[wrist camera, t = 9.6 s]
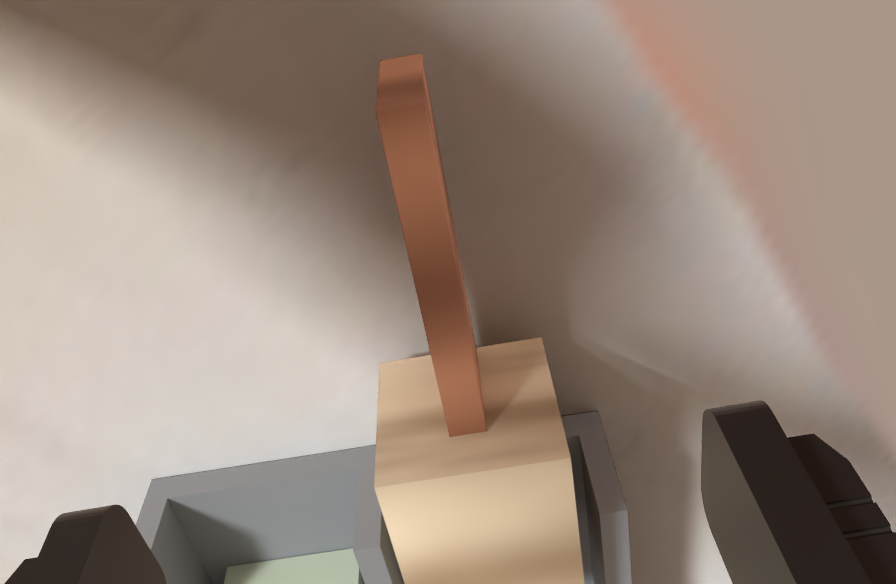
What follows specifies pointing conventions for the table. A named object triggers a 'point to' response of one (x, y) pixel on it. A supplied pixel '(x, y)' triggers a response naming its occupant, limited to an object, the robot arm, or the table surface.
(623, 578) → the lane shelf
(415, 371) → the wooden handled block
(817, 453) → the robot arm
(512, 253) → the table surface
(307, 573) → the sage block
